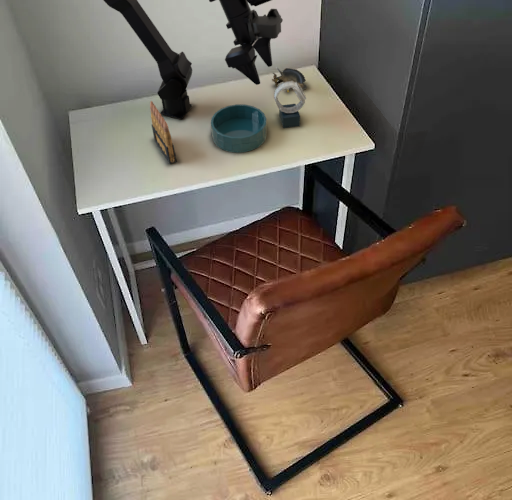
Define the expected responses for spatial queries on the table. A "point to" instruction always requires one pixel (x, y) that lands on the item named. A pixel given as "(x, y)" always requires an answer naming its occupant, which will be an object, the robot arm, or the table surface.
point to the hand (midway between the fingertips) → (264, 75)
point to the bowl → (239, 128)
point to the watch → (290, 105)
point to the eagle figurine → (290, 77)
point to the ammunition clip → (162, 134)
